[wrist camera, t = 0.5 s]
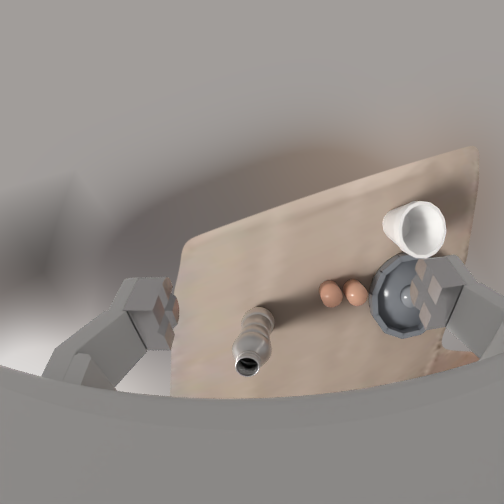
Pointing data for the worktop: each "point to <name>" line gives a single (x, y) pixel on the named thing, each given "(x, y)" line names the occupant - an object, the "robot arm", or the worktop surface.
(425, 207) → the foam cup
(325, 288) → the peach egg shape
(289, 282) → the worktop surface
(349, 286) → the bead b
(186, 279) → the worktop surface
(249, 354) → the plastic bottle
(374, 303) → the tray
